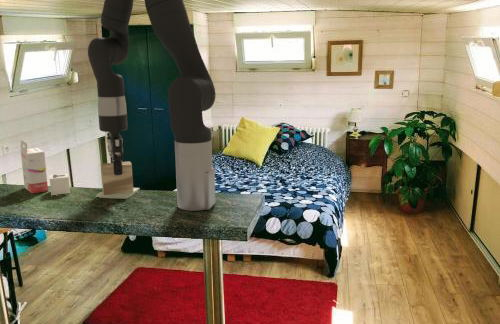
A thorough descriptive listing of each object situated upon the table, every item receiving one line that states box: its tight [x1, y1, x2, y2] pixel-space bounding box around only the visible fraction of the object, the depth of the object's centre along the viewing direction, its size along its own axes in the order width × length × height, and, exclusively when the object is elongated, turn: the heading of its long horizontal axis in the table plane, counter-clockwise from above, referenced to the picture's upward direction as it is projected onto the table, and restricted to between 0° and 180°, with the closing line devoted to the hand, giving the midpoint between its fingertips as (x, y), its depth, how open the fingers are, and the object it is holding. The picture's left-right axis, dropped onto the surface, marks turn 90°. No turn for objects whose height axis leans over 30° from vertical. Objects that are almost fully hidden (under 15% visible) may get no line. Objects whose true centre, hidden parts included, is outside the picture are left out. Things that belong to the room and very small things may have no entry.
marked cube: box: [49, 173, 71, 197], centre depth 139 cm, size 5×5×5 cm
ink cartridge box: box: [20, 139, 49, 194], centre depth 142 cm, size 9×5×15 cm, turn 37°
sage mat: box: [95, 187, 141, 200], centre depth 138 cm, size 9×9×1 cm
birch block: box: [100, 160, 134, 195], centre depth 137 cm, size 4×8×8 cm, turn 111°
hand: (116, 171), depth 137 cm, fingers open, 6 cm apart
